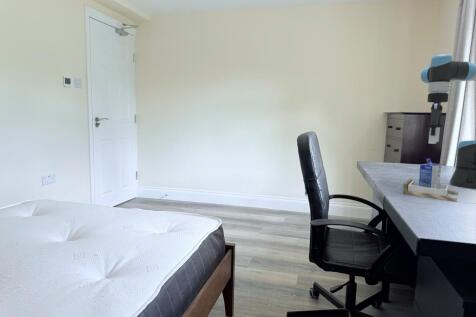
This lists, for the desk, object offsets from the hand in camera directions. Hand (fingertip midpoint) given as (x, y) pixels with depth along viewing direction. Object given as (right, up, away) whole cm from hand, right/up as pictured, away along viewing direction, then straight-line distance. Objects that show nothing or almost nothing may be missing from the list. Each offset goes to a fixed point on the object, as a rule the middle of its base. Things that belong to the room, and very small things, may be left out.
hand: (433, 142), depth 141 cm
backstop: (0, -23, +2) cm, 23 cm away
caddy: (-1, -22, +3) cm, 23 cm away
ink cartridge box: (-1, -22, +3) cm, 22 cm away
